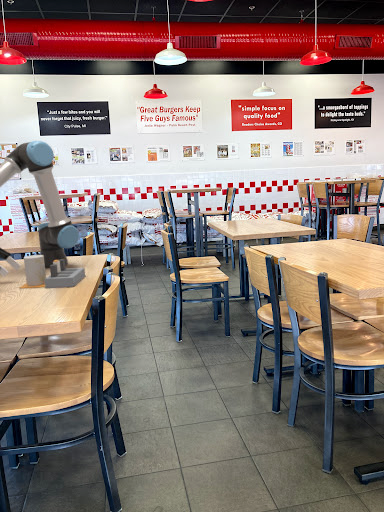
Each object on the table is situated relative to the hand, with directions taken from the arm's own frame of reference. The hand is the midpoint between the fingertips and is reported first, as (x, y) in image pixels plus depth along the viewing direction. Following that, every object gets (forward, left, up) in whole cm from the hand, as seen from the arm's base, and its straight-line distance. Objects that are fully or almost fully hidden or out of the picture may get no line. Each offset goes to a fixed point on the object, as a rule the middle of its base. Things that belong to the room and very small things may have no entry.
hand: (13, 271), depth 186 cm
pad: (0, +10, -7) cm, 12 cm away
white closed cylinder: (0, +10, -6) cm, 12 cm away
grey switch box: (-3, +22, -7) cm, 23 cm away
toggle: (-3, +18, -2) cm, 19 cm away
